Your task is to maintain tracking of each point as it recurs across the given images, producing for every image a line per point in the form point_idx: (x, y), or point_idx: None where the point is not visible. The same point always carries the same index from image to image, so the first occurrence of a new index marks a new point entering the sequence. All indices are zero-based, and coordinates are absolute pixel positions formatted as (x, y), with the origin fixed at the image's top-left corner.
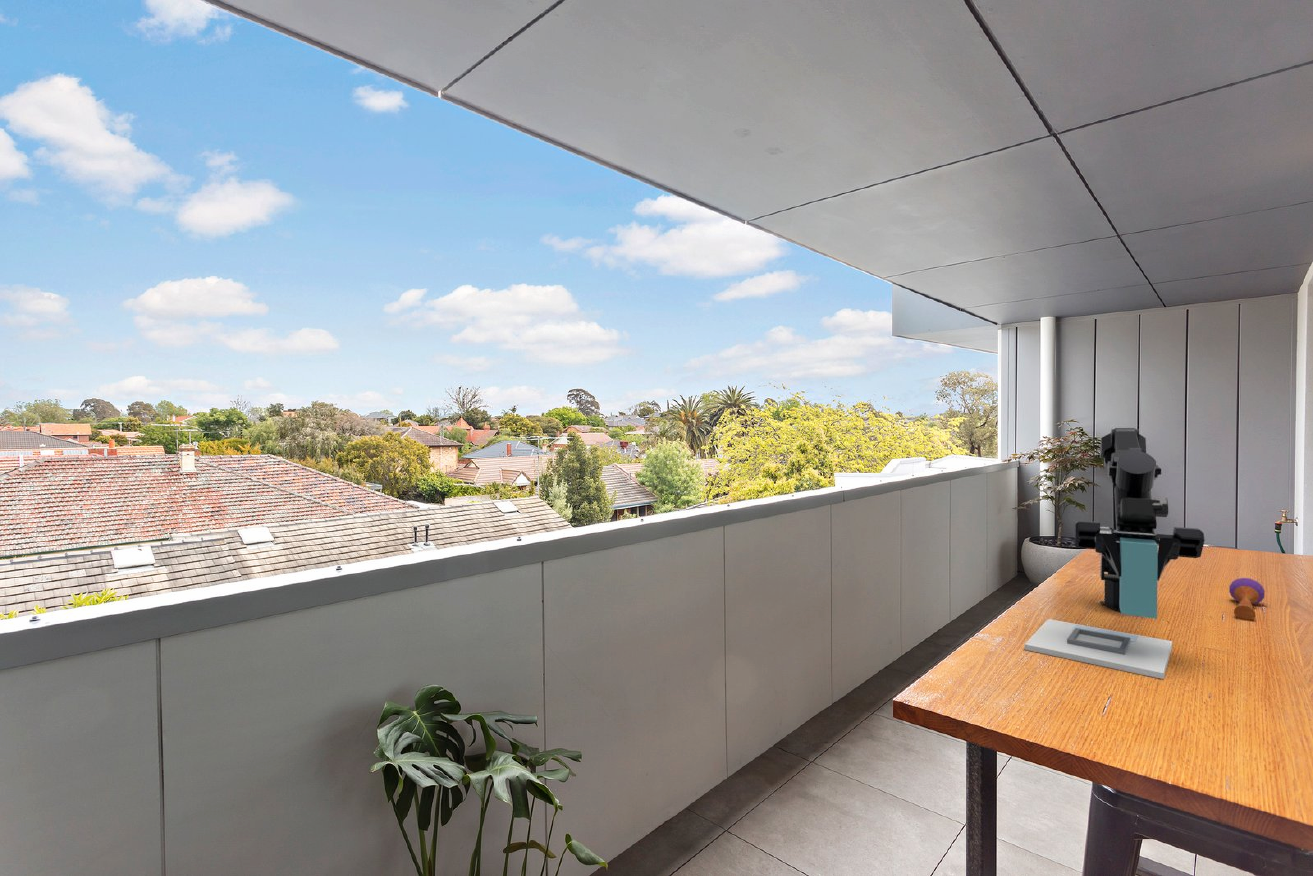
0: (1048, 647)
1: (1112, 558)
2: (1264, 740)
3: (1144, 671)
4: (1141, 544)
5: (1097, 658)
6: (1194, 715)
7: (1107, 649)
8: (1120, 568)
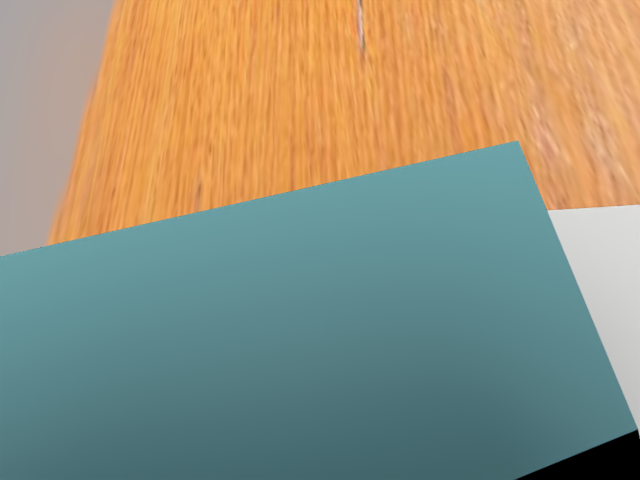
0: (580, 224)
1: None
2: (143, 51)
3: None
4: (119, 241)
5: None
6: (228, 72)
7: None
8: None
